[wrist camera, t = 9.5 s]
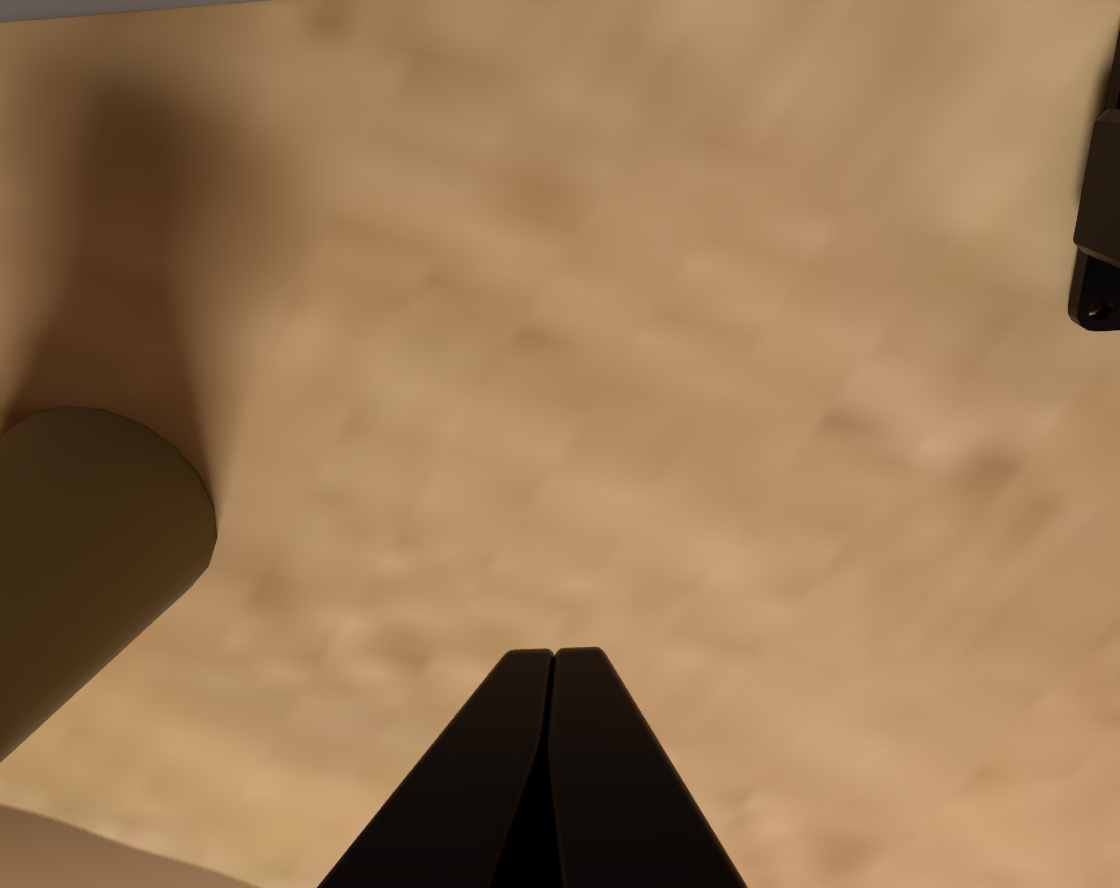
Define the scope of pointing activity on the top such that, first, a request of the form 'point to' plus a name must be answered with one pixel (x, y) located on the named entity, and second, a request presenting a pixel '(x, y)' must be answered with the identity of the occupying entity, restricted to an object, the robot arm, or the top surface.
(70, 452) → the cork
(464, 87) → the top surface
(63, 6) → the tray
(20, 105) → the top surface
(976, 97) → the top surface
